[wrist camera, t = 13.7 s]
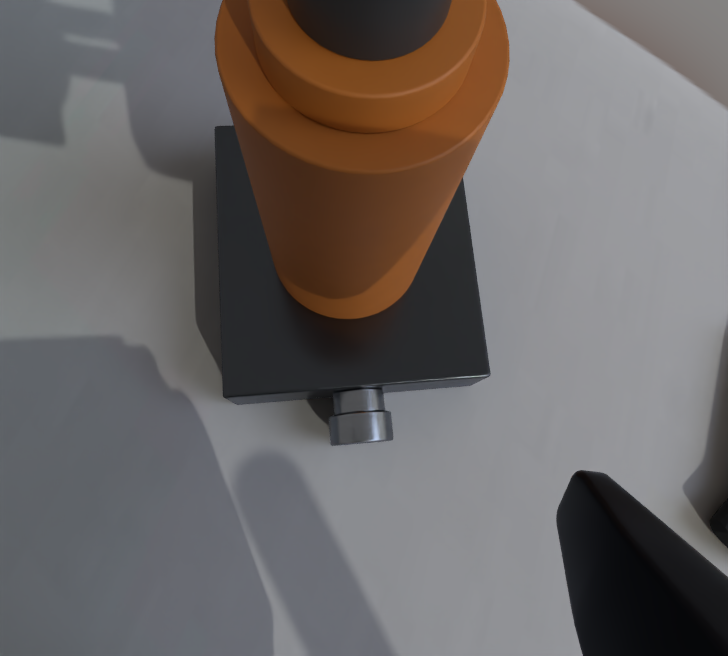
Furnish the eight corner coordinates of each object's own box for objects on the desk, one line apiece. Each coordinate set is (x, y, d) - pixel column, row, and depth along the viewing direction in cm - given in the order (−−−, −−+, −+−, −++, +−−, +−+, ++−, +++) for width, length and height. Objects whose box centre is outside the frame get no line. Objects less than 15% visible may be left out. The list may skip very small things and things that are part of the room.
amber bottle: (449, 260, 19) (655, -72, 7) (334, 349, 18) (345, 142, 6) (357, 154, 20) (402, -311, 8) (242, 235, 19) (88, -154, 7)
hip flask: (226, 162, 23) (213, 125, 20) (441, 152, 23) (455, 115, 21) (237, 454, 20) (224, 454, 17) (478, 433, 21) (499, 430, 18)
